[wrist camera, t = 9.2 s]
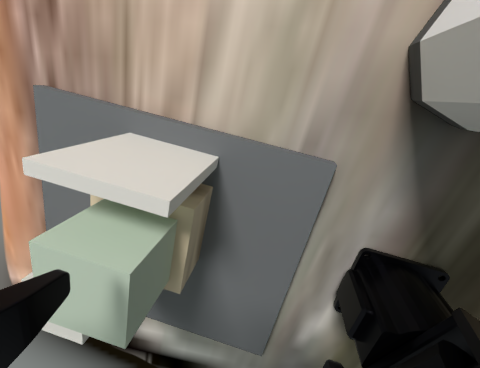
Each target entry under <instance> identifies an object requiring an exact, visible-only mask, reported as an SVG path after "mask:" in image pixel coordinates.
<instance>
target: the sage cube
mask: <svg viewBox="0 0 480 368" xmlns="http://www.w3.org/2000/svg"><path fill="white" fill-rule="evenodd" d="M177 221H178V220H176V219H173V218H169V217H168V218H167V217H163V216H160V215H157V214H153V213H150V212H147V211H144V210H140V209H137V208H134V207H130V206H127V205H124V204H120V203H117V202H114V201H110V200H107V199H103V200H101V201H99V202H98V203H96V204H94V205H92V206H90V207H89V208H87V209H85V210H83V211H82V212H80V213H78V214H76V215H74V216H73V217H71V218H69V219H67V220H66V221H64V222H62V223H60V224H59V225H57V226H55V227H53V228H51V229H50V230H48V231H46V232H44V233H43V234H41V235H39V236H37V237H35V238H34V239H32V240H30V241H29V247H30V255H31V263H32V271H33V278H34V277H36V276H39V275H42V274H44V273H47V272H50V271H52V270H56V269H60V270H63V271H66V272H68V273H69V274H70V287H71V290H70V293H69V295H68V297H67V298H66V299H65V301H64V302H63V303H62V304H61V306H60V307H59V308H58V309H57V311H56V312H55V313H54V314H53V316H52V317H51V318H50V319H49V321H48V322H51V323H53V324H56V325H59V326H62V327H65V328H68V329H70V330H73V331H76V332H79V333H82V334H84V335H87V336H90V337H93V338H96V339H98V340H101V341H104V342H107V343H110V344H113V345H115V346H118V347H121V348H124V349H125V348H126V347H127V345H128V344H129V342H130V341H131V339H132V337H133V336H134V334H135V333H136V331H137V330H138V328H139V327H140V325H141V323H142V322H143V320H144V319H145V317H146V316H147V314H148V312H149V311H150V309H151V308H152V306H153V305H154V303H155V301H156V300H157V298H158V297H159V295H160V294H161V292H162V290H163V289H164V287H165V286H166V284H167V283H168V281H169V276H170V270H171V263H172V256H173V249H174V242H175V235H176V228H177Z"/></svg>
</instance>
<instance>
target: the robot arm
mask: <svg viewBox="0 0 480 368" xmlns="http://www.w3.org/2000/svg"><path fill="white" fill-rule="evenodd" d="M365 254H369V255H368V256H364V255H365ZM439 276H441V277H439ZM449 279H450V277H449V275H448V274H447V273H446V272H445V271H444V270H442V269H439V268H435V267H432V266H428V265H425V264H421V263H418V262H415V261H411V260H408V259H404V258H401V257H397V256H394V255H390V254H387V253H384V252H380V251H377V250H373V249H370V248H363V249H361V250H360V252H359V254H358V256H357V258H356V260H355V262H354V264H353V266H352V268H351V269H349V270H348V271H347V273H346V275H345V277H344V279H343V281H342V283H341V285H340V287H339V289H338V291H337V297H336V299H335V301H334V308H335V310H336V311H338V312H340V313H342V316H343V320H344V324H345V328H346V332H347V335H348V336H349V338H350V339H353V340H354V341H355V344H356V348H357V351H358V355H359V359H360V362H361V366H362V368H480V321H479V320H477V319H476V318H474V317H473V316H472V315H470V314H469V313H467V312H466V311H465V310H463V309H462V308H458V309H456V310H455V311H453V310H452V308H451V307H450V306H449V304H448V303H447V302H446V301H445V299H444V298H443V297H442V295H441V294H440V292H441V291H442V289H443V288H444V286H445V285H446V284H447V282H448V281H449ZM70 290H71V287H70V274H69V273H68V272H66V271H63V270H60V269H56V270H52V271H50V272H47V273H44V274H42V275H39V276H36V277H34V278H31V279H28V280H26V281H23V282H20V283H18V284H15V285H12V286H9V287H7V288H4V289H2V290H0V368H8V367H9V365H10V364H11V363H12V362H13V361H14V360H15V359H16V358H17V357H18V356H19V355H20V354H21V353H22V351H23V350H24V349H25V348H26V347H27V346H28V345H29V344H30V343H31V342H32V340H33V339H34V338H35V337H36V336H37V335H38V333H39V332H40V331H41V330H42V328H43V327H44V326H45V325H46V323H47V322H48V321H49V319H50V318H51V317H52V316H53V314H54V313H55V312H56V311H57V309H58V308H59V307H60V306H61V304H62V303H63V302H64V301H65V299H66V298H67V297H68V295H69V293H70ZM323 368H344V367H343V366H342V365H341V364H340V363H338V362H335V361H332V360H327V361H326V362H325V364H324V366H323Z"/></svg>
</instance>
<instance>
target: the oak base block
mask: <svg viewBox="0 0 480 368" xmlns="http://www.w3.org/2000/svg"><path fill="white" fill-rule="evenodd" d="M212 190H213V187H212V186H209V185H205V184H202V183H201V184H200V185H199V186H198V187H197V188H196V189H195V190H194V191H193V192H192V193H191V194H190V195H189V196H188V197H187V198H186V199H185V201H184V202H183V203H182V204H181V205H180V206H179V207H178V208H177V209H176V210H175V211H174V212H173V213H172V214H171V215H170V216H169V218H173V219H176V220H178V221H177V228H176V235H175V242H174V249H173V256H172V263H171V270H170V276H169V281H168V283H167V284H166V286H165V287H164V289H166V290H169V291H172V292H175V293H178V294H180V293H181V291H182V289H183V287H184V286H185V284H186V282H187V280H188V278H189V276H190V274H191V272H192V271H193V269H194V267H195V265H196V263H197V261H198V259H199V255H200V250H201V245H202V240H203V235H204V230H205V225H206V220H207V215H208V210H209V205H210V200H211V195H212ZM103 199H104V198H100V197H97V196H94V195H90V206H92V205H94V204H96V203H98V202H99V201H101V200H103Z"/></svg>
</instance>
